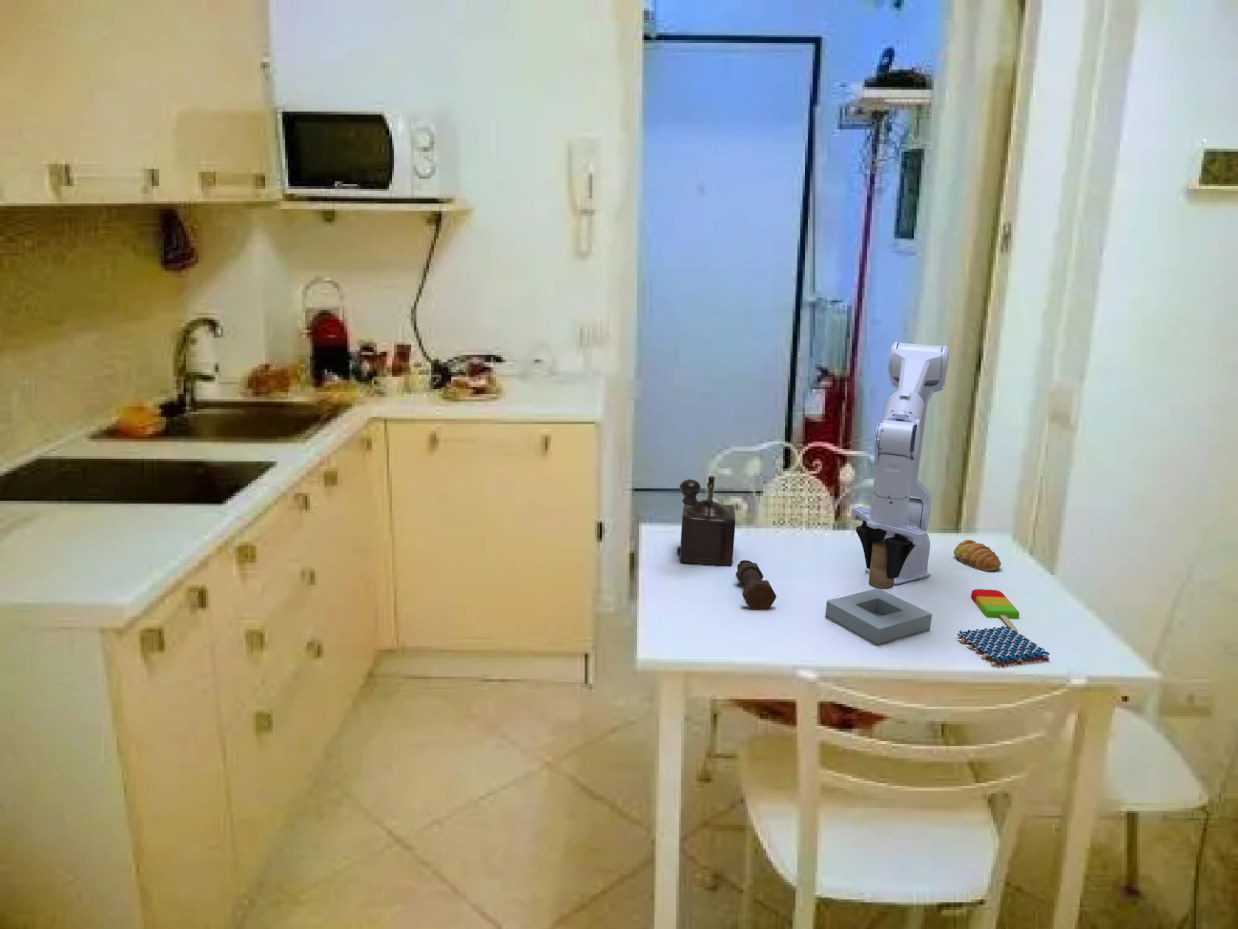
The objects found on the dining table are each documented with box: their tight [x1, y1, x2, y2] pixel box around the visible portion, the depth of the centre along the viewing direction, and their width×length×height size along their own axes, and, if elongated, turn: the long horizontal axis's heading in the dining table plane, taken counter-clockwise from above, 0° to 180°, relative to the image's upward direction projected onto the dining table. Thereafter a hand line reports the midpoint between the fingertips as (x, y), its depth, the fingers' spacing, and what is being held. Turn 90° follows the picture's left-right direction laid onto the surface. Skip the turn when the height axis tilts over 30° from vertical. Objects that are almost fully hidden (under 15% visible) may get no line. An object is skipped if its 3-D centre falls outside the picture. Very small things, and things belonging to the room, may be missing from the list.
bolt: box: [735, 559, 777, 611], centre depth 163 cm, size 6×5×15 cm
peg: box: [868, 541, 895, 590], centre depth 149 cm, size 4×4×7 cm
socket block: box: [824, 588, 933, 647], centre depth 152 cm, size 12×12×3 cm
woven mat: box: [956, 625, 1051, 668], centre depth 144 cm, size 10×11×2 cm
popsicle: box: [970, 588, 1020, 632], centre depth 157 cm, size 6×15×2 cm, turn 177°
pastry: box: [953, 539, 1002, 572], centre depth 179 cm, size 9×7×4 cm
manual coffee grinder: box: [676, 475, 736, 567], centre depth 176 cm, size 16×11×18 cm
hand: (882, 572), depth 150 cm, fingers closed on peg, 4 cm apart
